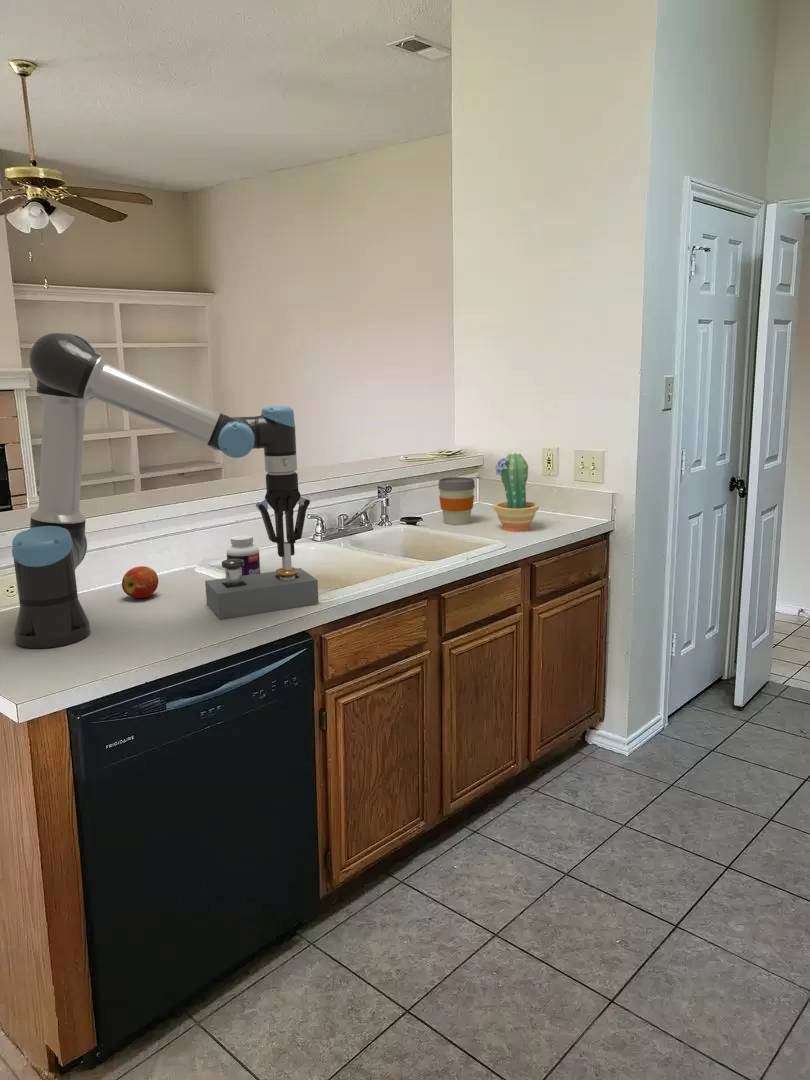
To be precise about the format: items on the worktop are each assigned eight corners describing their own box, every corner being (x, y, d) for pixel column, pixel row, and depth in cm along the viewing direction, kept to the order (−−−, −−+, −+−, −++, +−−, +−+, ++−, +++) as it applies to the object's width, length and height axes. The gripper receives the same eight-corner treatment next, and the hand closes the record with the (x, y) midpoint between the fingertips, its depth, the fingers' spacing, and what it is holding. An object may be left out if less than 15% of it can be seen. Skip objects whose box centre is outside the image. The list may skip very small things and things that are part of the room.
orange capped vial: (281, 603, 203) (279, 573, 201) (275, 598, 207) (273, 569, 206) (301, 600, 205) (300, 571, 203) (295, 595, 209) (293, 566, 208)
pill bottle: (254, 597, 209) (251, 541, 206) (224, 596, 210) (220, 540, 207) (266, 588, 217) (262, 534, 213) (236, 587, 218) (233, 533, 215)
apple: (118, 600, 210) (115, 569, 208) (142, 591, 217) (139, 561, 215) (142, 603, 206) (139, 572, 204) (166, 594, 214) (163, 564, 212)
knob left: (226, 596, 196) (224, 565, 195) (221, 590, 201) (219, 560, 199) (248, 593, 199) (246, 562, 197) (242, 587, 203) (240, 557, 201)
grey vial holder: (219, 619, 193) (217, 594, 191) (206, 604, 204) (205, 580, 203) (318, 603, 203) (317, 579, 201) (301, 590, 214) (300, 567, 213)
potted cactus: (499, 522, 291) (499, 450, 286) (543, 525, 286) (544, 451, 280) (487, 532, 277) (487, 456, 271) (533, 534, 272) (534, 457, 266)
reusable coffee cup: (477, 519, 298) (477, 477, 294) (471, 526, 286) (471, 483, 282) (442, 518, 301) (442, 476, 297) (435, 525, 289) (434, 482, 285)
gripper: (259, 476, 193) (265, 576, 198) (312, 472, 198) (317, 568, 204) (250, 473, 200) (256, 569, 205) (302, 468, 205) (307, 562, 210)
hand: (287, 568), depth 204 cm, fingers closed
